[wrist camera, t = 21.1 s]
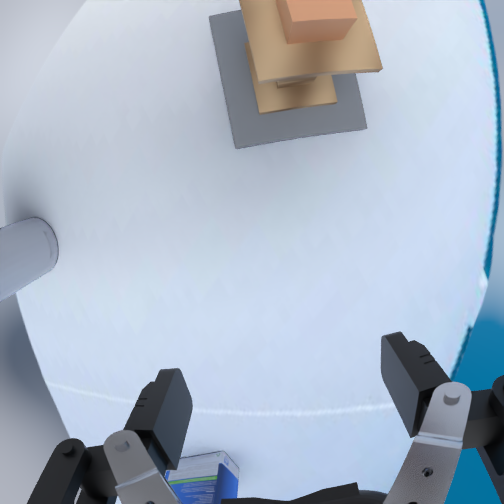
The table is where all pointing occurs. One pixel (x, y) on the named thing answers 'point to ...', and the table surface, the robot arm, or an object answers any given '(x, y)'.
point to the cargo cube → (315, 19)
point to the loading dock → (284, 122)
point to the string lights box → (204, 479)
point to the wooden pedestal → (302, 59)
